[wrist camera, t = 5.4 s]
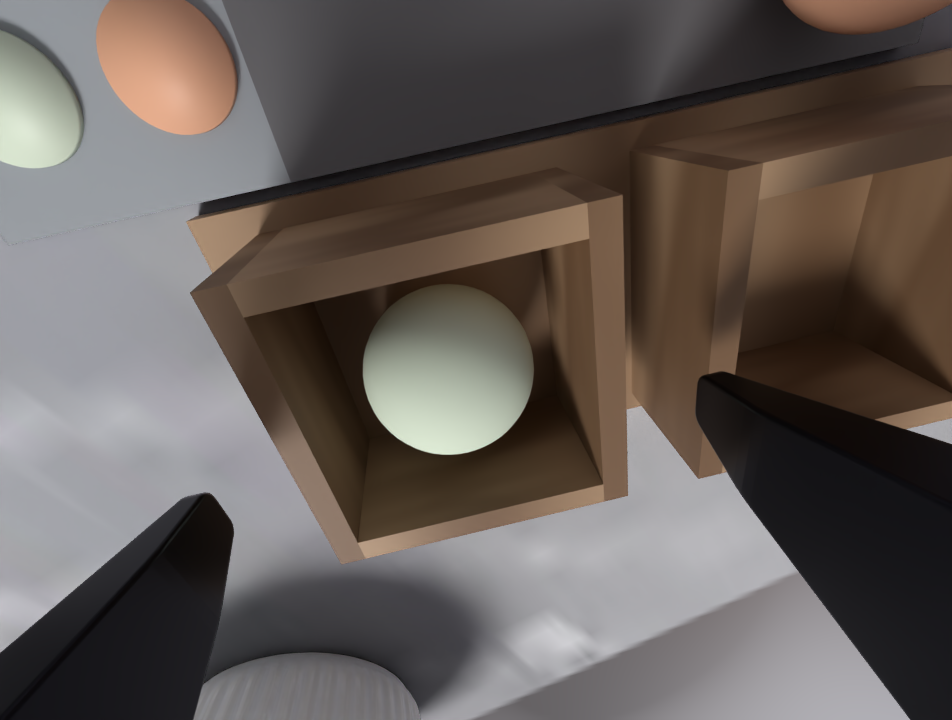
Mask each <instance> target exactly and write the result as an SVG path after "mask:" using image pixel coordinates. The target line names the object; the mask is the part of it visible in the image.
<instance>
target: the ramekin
mask: <svg viewBox="0 0 952 720" xmlns="http://www.w3.org/2000/svg"><path fill="white" fill-rule="evenodd" d="M194 720H421V717H420V713H419V709H418V706H417V704H416V702H415V700H414V699H413V697H412V695H411V694H410V692H409V691H408V690H407V689H406V687H405V686H404V684H403V683H402V682H401V681H400V680H399V679H398V678H397V677H396V676H395V675H394V674H393V673H391V672H390V671H388V670H386V669H384V668H383V667H381V666H379V665H377V664H374V663H372V662H369V661H366V660H363V659H359V658H355V657H351V656H346V655H340V654H332V653H318V652H308V653H290V654H281V655H274V656H269V657H264V658H259V659H255V660H251V661H248V662H245V663H242V664H239V665H236V666H234V667H231V668H229V669H227V670H225V671H223V672H221V673H219V674H217V675H216V676H214V677H213V678H211V679H210V680H208V681H207V682H206V683H205V684H204V685H203V686H202V690H201V693H200V697H199V701H198V705H197V708H196V712H195V716H194Z"/></svg>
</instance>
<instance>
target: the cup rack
mask: <svg viewBox="0 0 952 720" xmlns="http://www.w3.org/2000/svg"><path fill="white" fill-rule="evenodd" d="M187 224H188V226H189V228H190V230H191V232H192V234H193V236H194V238H195V240H196V242H197V244H198V246H199V247H200V249H201V251H202V253H203V255H204V257H205V259H206V261H207V263H208V265H209V267H210V269H211V271H212V274H211V275H210V276H209V277H208V278H207V279H205V280H204V281H203V282H202V283H201V284H200V285H198V286H197V287H196V288H195V289H194V290H193V291H191V292H190V294H191V296H192V297H193V299H194V301H195V303H196V305H197V306H198V308H199V310H200V312H201V314H202V315H203V317H204V319H205V321H206V323H207V324H208V326H209V328H210V330H211V331H212V333H213V335H214V337H215V339H216V340H217V342H218V344H219V346H220V348H221V349H222V351H223V353H224V355H225V357H226V358H227V360H228V362H229V364H230V366H231V367H232V369H233V371H234V373H235V374H236V376H237V378H238V380H239V382H240V383H241V385H242V387H243V389H244V391H245V392H246V394H247V396H248V398H249V400H250V401H251V403H252V405H253V407H254V409H255V410H256V412H257V414H258V416H259V417H260V419H261V421H262V423H263V425H264V426H265V428H266V430H267V432H268V434H269V435H270V437H271V439H272V441H273V443H274V444H275V446H276V448H277V450H278V451H279V453H280V455H281V457H282V459H283V460H284V462H285V464H286V466H287V468H288V469H289V471H290V473H291V475H292V477H293V478H294V480H295V482H296V484H297V486H298V487H299V489H300V491H301V493H302V494H303V496H304V498H305V500H306V502H307V503H308V505H309V507H310V509H311V511H312V512H313V514H314V516H315V518H316V520H317V521H318V523H319V525H320V527H321V529H322V530H323V532H324V534H325V536H326V537H327V539H328V541H329V543H330V545H331V546H332V548H333V550H334V552H335V554H336V555H337V557H338V559H339V561H340V563H341V564H345V563H350V562H354V561H358V560H362V559H366V558H370V557H375V556H379V555H383V554H387V553H391V552H395V551H400V550H404V549H408V548H412V547H416V546H420V545H425V544H429V543H433V542H437V541H441V540H445V539H450V538H454V537H458V536H462V535H466V534H470V533H475V532H479V531H483V530H487V529H491V528H495V527H500V526H504V525H508V524H512V523H516V522H520V521H525V520H529V519H533V518H537V517H541V516H545V515H550V514H554V513H558V512H562V511H566V510H570V509H575V508H579V507H583V506H587V505H591V504H596V503H600V502H604V501H608V500H612V499H616V498H621V497H625V496H628V472H627V414H626V409H630V408H634V407H638V406H642V407H643V408H644V410H645V411H646V412H647V413H648V415H649V416H650V417H651V419H652V420H653V421H654V422H655V424H656V425H657V426H658V428H659V429H660V430H661V431H662V433H663V434H664V435H665V437H666V438H667V439H668V440H669V442H670V443H671V444H672V446H673V447H674V448H675V449H676V451H677V452H678V453H679V455H680V456H681V457H682V458H683V460H684V461H685V462H686V464H687V465H688V466H689V467H690V469H691V470H692V471H693V473H694V474H695V475H696V476H697V478H698V479H700V478H704V477H708V476H712V475H716V474H721V473H725V472H727V471H726V470H725V468H724V466H723V465H722V463H721V461H720V460H719V458H718V456H717V455H716V453H715V451H714V450H713V448H712V446H711V445H710V443H709V441H708V439H707V438H706V436H705V434H704V433H703V431H702V429H701V428H700V426H699V424H698V422H697V420H696V416H695V404H696V392H697V382H698V380H699V378H700V377H701V376H703V375H706V374H710V373H715V372H719V371H725V372H728V373H731V374H734V375H738V376H741V377H744V378H747V379H750V380H753V381H756V382H759V383H762V384H766V385H769V386H772V387H775V388H778V389H781V390H784V391H787V392H791V393H794V394H797V395H800V396H803V397H806V398H809V399H812V400H815V401H819V402H822V403H825V404H828V405H831V406H834V407H837V408H840V409H844V410H847V411H850V412H853V413H856V414H859V415H862V416H865V417H868V418H872V419H875V420H878V421H881V422H884V423H887V424H890V425H893V426H897V427H900V428H903V429H908V428H912V427H917V426H921V425H925V424H929V423H933V422H937V421H942V420H946V419H950V418H952V48H948V49H943V50H939V51H934V52H930V53H925V54H921V55H916V56H912V57H907V58H903V59H898V60H894V61H890V62H885V63H881V64H876V65H872V66H867V67H863V68H858V69H854V70H849V71H845V72H840V73H836V74H831V75H827V76H822V77H818V78H813V79H809V80H804V81H800V82H795V83H791V84H786V85H782V86H778V87H773V88H769V89H764V90H760V91H755V92H751V93H746V94H742V95H737V96H733V97H728V98H724V99H719V100H715V101H710V102H706V103H701V104H697V105H692V106H688V107H683V108H679V109H674V110H670V111H666V112H661V113H657V114H652V115H648V116H643V117H639V118H634V119H630V120H625V121H621V122H616V123H612V124H607V125H603V126H598V127H594V128H589V129H585V130H580V131H576V132H571V133H567V134H562V135H558V136H554V137H549V138H545V139H540V140H536V141H531V142H527V143H522V144H518V145H513V146H509V147H504V148H500V149H495V150H491V151H486V152H482V153H477V154H473V155H468V156H464V157H459V158H455V159H451V160H446V161H442V162H437V163H433V164H428V165H424V166H419V167H415V168H410V169H406V170H401V171H397V172H392V173H388V174H383V175H379V176H374V177H370V178H365V179H361V180H356V181H352V182H347V183H343V184H339V185H334V186H330V187H325V188H321V189H316V190H312V191H307V192H303V193H298V194H294V195H289V196H285V197H280V198H276V199H271V200H267V201H262V202H258V203H253V204H249V205H244V206H240V207H235V208H231V209H227V210H222V211H218V212H213V213H209V214H204V215H200V216H196V217H194V218H192V219H190V220H189V221H187ZM439 284H456V285H464V286H468V287H473V288H476V289H478V290H481V291H484V292H486V293H488V294H489V295H491V296H493V297H494V298H496V299H497V300H499V301H500V302H501V303H503V304H504V305H505V306H506V307H507V308H508V309H509V310H510V311H511V312H512V313H513V314H514V315H515V317H516V318H517V319H518V321H519V322H520V324H521V325H522V327H523V329H524V330H525V332H526V335H527V338H528V340H529V343H530V346H531V350H532V354H533V364H534V375H533V384H532V389H531V393H530V396H529V399H528V401H527V404H526V406H525V408H524V410H523V412H522V413H521V415H520V417H519V418H518V419H517V421H516V422H515V423H514V424H513V426H512V427H511V428H510V429H509V430H508V431H507V432H506V433H505V434H503V435H502V436H501V437H500V438H498V439H497V440H495V441H494V442H492V443H491V444H489V445H487V446H485V447H482V448H480V449H477V450H475V451H471V452H468V453H462V454H453V455H442V454H433V453H429V452H424V451H421V450H419V449H416V448H414V447H412V446H410V445H408V444H406V443H404V442H403V441H401V440H399V439H398V438H396V437H395V436H394V435H393V434H392V433H391V432H390V431H389V430H388V429H387V428H386V427H385V426H384V425H383V424H382V423H381V422H380V420H379V419H378V417H377V416H376V414H375V413H374V411H373V409H372V407H371V405H370V403H369V401H368V397H367V394H366V391H365V387H364V380H363V358H364V352H365V348H366V345H367V342H368V339H369V336H370V334H371V332H372V330H373V328H374V326H375V325H376V323H377V322H378V320H379V319H380V318H381V316H382V315H383V314H384V313H385V311H386V310H387V309H388V308H389V307H390V306H391V305H393V304H394V303H395V302H396V301H398V300H399V299H401V298H402V297H404V296H406V295H407V294H409V293H411V292H414V291H416V290H418V289H421V288H424V287H428V286H433V285H439Z"/></svg>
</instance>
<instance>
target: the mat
mask: <svg viewBox="0 0 952 720" xmlns="http://www.w3.org/2000/svg"><path fill="white" fill-rule="evenodd" d="M222 2H223V5H224V7H225V10H226V9H227V10H226V13H227V15H228V18H229V21H230V23H231V26H232V25H233V26H232V28H233V31H234V34H235V36H236V39H237V42H238V44H239V47H240V49H241V52H242V55H243V57H244V60H245V63H246V65H247V68H248V70H249V73H250V76H251V78H252V81H253V84H254V86H255V89H256V92H257V94H258V97H259V99H260V102H261V105H262V107H263V110H264V113H265V115H266V118H267V120H268V123H269V126H270V128H271V131H272V134H273V136H274V139H275V142H276V144H277V147H278V149H279V152H280V155H281V157H282V160H283V163H284V165H285V168H286V170H287V173H288V176H289V178H290V181H291V182H296V181H300V180H305V179H309V178H314V177H318V176H323V175H327V174H332V173H336V172H341V171H345V170H350V169H354V168H359V167H363V166H368V165H372V164H377V163H381V162H386V161H390V160H395V159H399V158H404V157H408V156H413V155H417V154H422V153H426V152H431V151H435V150H440V149H444V148H449V147H453V146H457V145H462V144H466V143H471V142H475V141H480V140H484V139H489V138H493V137H498V136H502V135H507V134H511V133H516V132H520V131H525V130H529V129H534V128H538V127H543V126H547V125H552V124H556V123H561V122H565V121H570V120H574V119H579V118H583V117H588V116H592V115H597V114H601V113H606V112H610V111H615V110H619V109H624V108H628V107H633V106H637V105H642V104H646V103H651V102H655V101H660V100H664V99H669V98H673V97H678V96H682V95H687V94H691V93H695V92H700V91H704V90H709V89H713V88H718V87H722V86H727V85H731V84H736V83H740V82H745V81H749V80H754V79H758V78H763V77H767V76H772V75H776V74H781V73H785V72H790V71H794V70H799V69H803V68H808V67H812V66H817V65H821V64H826V63H830V62H835V61H839V60H844V59H848V58H853V57H857V56H862V55H866V54H871V53H875V52H880V51H884V50H889V49H893V48H898V47H902V46H907V45H911V44H916V43H918V41H919V37H920V34H921V30H922V26H923V22H924V19H925V17H924V18H922V19H920V20H917V21H915V22H912V23H909V24H907V25H904V26H901V27H897V28H894V29H890V30H886V31H882V32H876V33H869V34H857V35H849V34H837V33H831V32H827V31H822V30H820V29H818V28H815V27H813V26H811V25H809V24H806V23H805V22H803V21H802V20H801V19H799V18H798V17H797V16H795V15H794V14H793V13H792V12H791V11H790V9H789V8H788V7H787V6H786V5H785V4H784V2H783V0H222ZM238 4H239V5H238ZM238 9H239V10H238ZM242 13H243V14H242ZM239 16H240V17H239ZM235 18H236V19H235ZM253 18H254V19H253ZM245 29H246V30H245ZM259 31H260V32H259ZM237 37H238V38H237ZM242 49H243V50H242ZM261 50H262V51H261ZM261 70H262V71H261ZM267 72H268V73H267ZM267 86H268V87H267ZM273 92H274V93H273ZM271 94H272V95H271ZM275 111H276V112H275ZM279 111H280V112H279ZM270 118H271V119H270ZM280 121H281V122H280ZM283 135H284V136H283ZM290 139H291V140H290ZM282 145H283V146H282ZM284 149H285V150H284ZM303 156H304V157H303ZM305 161H306V162H305ZM303 163H304V164H303ZM286 165H287V166H286ZM299 167H300V168H299ZM295 172H296V173H295ZM297 179H298V180H297Z"/></svg>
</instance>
